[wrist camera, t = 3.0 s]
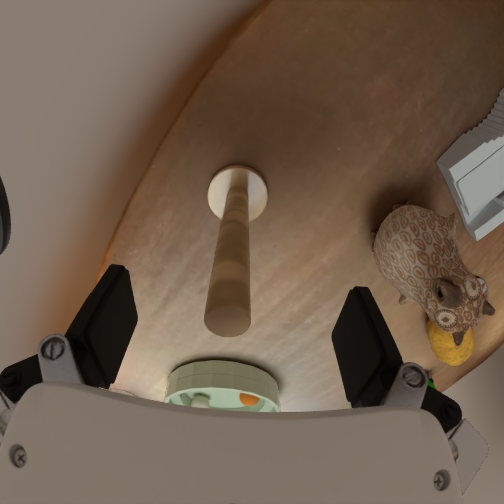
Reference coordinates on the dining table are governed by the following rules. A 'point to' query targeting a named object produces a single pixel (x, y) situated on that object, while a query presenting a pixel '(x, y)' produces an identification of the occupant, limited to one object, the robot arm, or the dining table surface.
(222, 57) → the dining table surface
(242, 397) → the orange ball
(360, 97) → the dining table surface
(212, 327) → the wooden peg stand
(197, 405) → the cream ball
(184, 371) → the bowl
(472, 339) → the potato
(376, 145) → the dining table surface
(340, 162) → the dining table surface
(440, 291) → the figurine
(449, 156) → the wedge sharpener
